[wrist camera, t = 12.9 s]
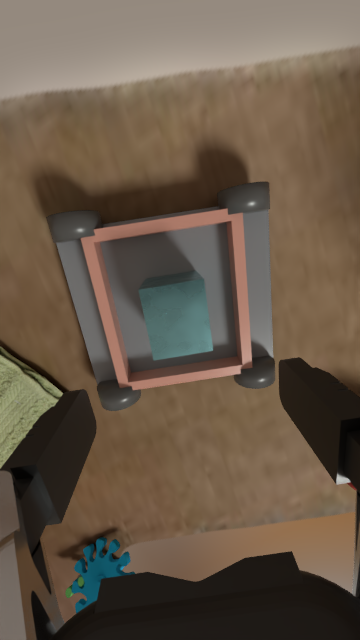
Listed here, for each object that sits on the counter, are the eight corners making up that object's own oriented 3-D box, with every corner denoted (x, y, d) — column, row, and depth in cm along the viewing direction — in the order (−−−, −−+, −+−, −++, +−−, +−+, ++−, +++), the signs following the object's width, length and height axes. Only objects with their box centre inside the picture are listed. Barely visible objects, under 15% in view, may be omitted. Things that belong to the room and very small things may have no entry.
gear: (127, 536, 35) (134, 638, 30) (145, 521, 40) (154, 606, 35) (63, 545, 37) (61, 641, 32) (88, 530, 42) (89, 612, 38)
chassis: (261, 189, 23) (281, 178, 19) (268, 364, 29) (285, 384, 25) (56, 221, 23) (32, 217, 19) (104, 389, 29) (93, 414, 25)
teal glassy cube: (195, 270, 24) (203, 278, 18) (203, 326, 26) (213, 350, 20) (145, 278, 24) (138, 289, 18) (156, 334, 26) (153, 360, 20)
